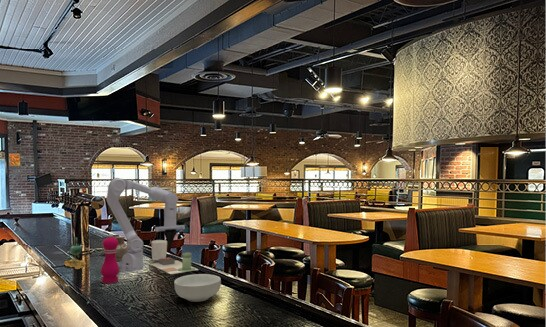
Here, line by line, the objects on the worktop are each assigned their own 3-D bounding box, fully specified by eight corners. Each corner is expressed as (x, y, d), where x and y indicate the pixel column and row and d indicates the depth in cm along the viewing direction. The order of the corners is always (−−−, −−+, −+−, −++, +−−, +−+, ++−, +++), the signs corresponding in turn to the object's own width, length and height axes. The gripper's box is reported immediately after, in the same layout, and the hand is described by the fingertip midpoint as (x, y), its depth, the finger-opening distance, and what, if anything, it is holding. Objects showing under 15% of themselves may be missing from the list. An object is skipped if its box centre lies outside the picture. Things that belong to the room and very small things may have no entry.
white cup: (157, 263, 206) (157, 243, 206) (147, 261, 211) (148, 241, 211) (170, 260, 213) (170, 241, 213) (160, 258, 217) (160, 239, 217)
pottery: (110, 263, 206) (111, 239, 206) (100, 254, 226) (100, 232, 226) (133, 260, 212) (133, 237, 212) (121, 252, 233) (121, 231, 233)
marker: (188, 270, 187) (188, 254, 187) (180, 270, 188) (180, 253, 188) (192, 268, 191) (192, 252, 191) (184, 268, 192) (185, 252, 192)
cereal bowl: (200, 289, 163) (200, 271, 163) (230, 297, 152) (230, 278, 152) (164, 299, 149) (164, 279, 150) (194, 309, 139) (194, 288, 139)
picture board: (199, 272, 189) (199, 265, 189) (170, 276, 181) (170, 269, 181) (176, 262, 209) (176, 256, 209) (149, 266, 200) (150, 259, 200)
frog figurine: (81, 260, 210) (83, 232, 209) (89, 272, 196) (91, 241, 195) (61, 263, 205) (62, 233, 204) (67, 274, 190) (69, 243, 189)
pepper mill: (112, 284, 168) (113, 235, 168) (96, 283, 169) (97, 234, 169) (122, 279, 175) (123, 232, 175) (107, 278, 176) (108, 232, 176)
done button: (171, 262, 201) (171, 258, 201) (164, 263, 199) (164, 259, 199) (168, 261, 204) (168, 257, 204) (161, 262, 202) (161, 258, 202)
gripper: (159, 219, 192) (158, 248, 191) (187, 217, 201) (187, 245, 200) (153, 217, 197) (153, 245, 197) (181, 215, 206) (181, 242, 206)
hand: (169, 245), depth 199 cm, fingers closed
